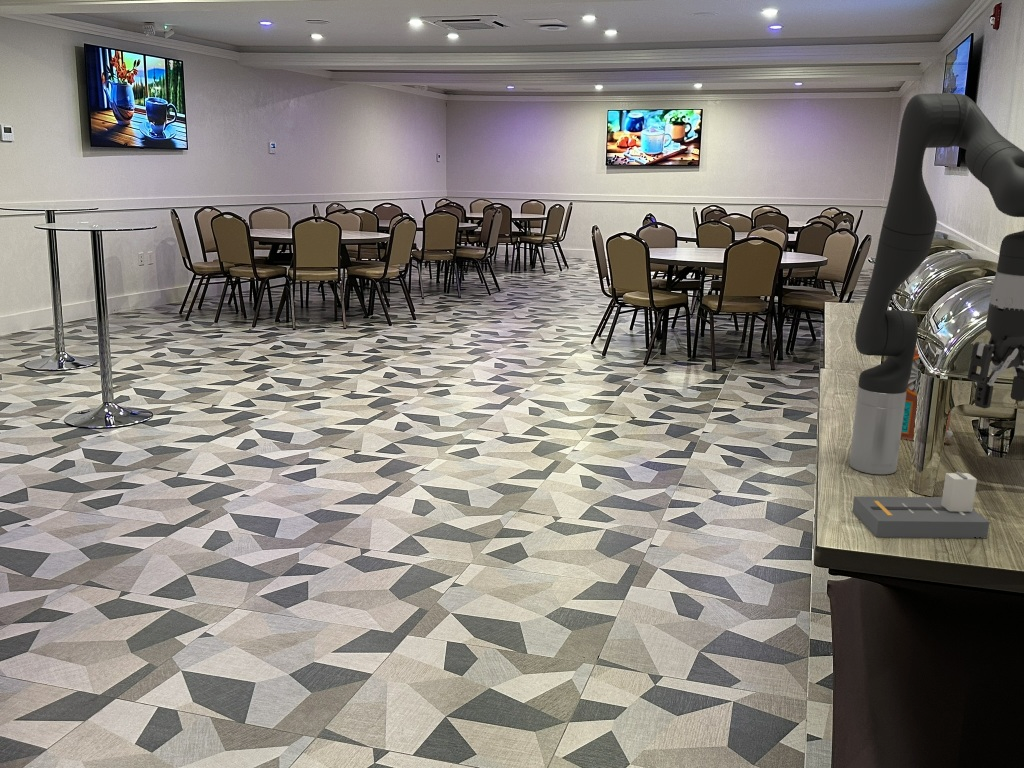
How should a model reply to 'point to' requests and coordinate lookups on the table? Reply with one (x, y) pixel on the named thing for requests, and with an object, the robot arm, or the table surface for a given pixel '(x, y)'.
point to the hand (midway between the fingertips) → (999, 403)
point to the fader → (959, 492)
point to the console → (917, 518)
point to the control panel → (915, 405)
